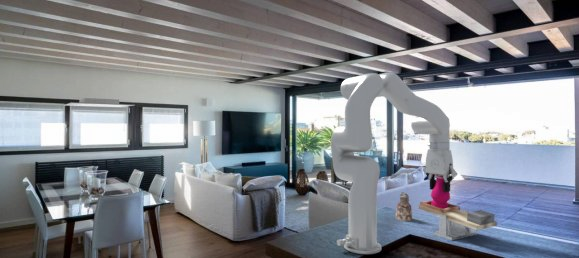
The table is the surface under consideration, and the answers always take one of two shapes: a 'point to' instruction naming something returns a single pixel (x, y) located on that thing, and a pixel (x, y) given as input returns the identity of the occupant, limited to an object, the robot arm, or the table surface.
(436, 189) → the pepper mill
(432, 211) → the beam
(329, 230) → the table surface
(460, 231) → the fulcrum
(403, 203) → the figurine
